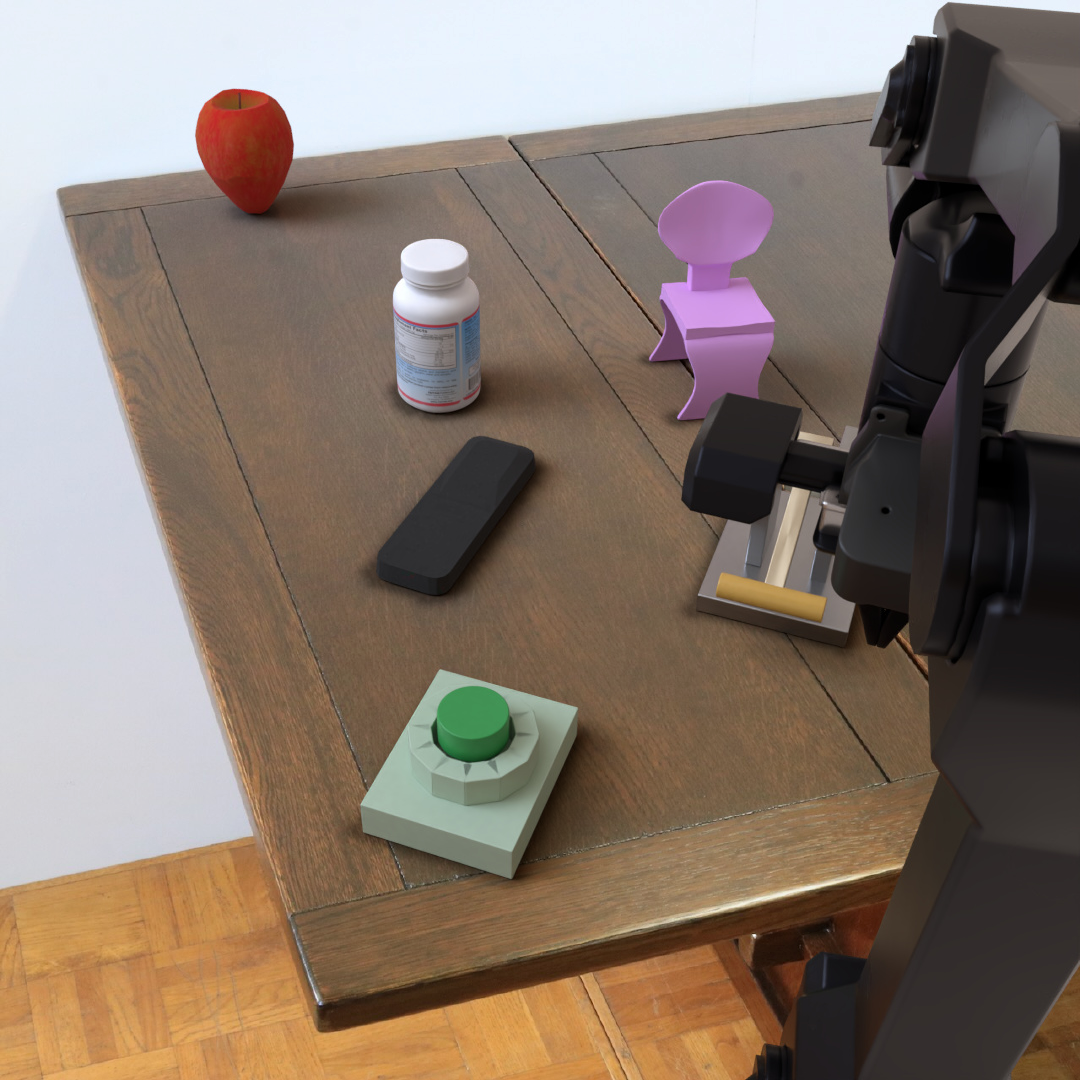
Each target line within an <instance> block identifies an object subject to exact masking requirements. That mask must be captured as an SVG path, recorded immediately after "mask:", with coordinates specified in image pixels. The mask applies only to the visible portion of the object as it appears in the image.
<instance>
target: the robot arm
mask: <svg viewBox="0 0 1080 1080" xmlns="http://www.w3.org/2000/svg"><path fill="white" fill-rule="evenodd" d="M932 27H933V28H932V34H933V35H935V36H929V35H918V34H917V35H916V34H913V36H912V37H911V39H910V42H909V44H906V47H905V51H904V55H903V57H902V59H901V60H900V61H898V62H897V63H896V64H895V65H893V66H892V67H891V68H890V69H889V70H888V73H887V75H886V78H885V81H884V83H883V86H882V89H881V92H880V94H879V97H878V100H877V102H876V106H875V108H874V110H873V113H872V118H871V119H872V120H871V126H870V135H869V142H868V147H873V148H880V155H881V156H880V157H881V165H882V166H886V167H885V185H886V187H885V188H886V203H887V204H886V205H887V206H886V207H887V222H888V223H887V225H888V241H889V244H890V250H891V253H892V257H893V259H894V264H893V269H892V275H891V278H890V282H889V286H888V292H887V297H886V301H885V306H884V311H883V315H882V319H881V324H880V327H879V333H878V337H877V341H876V346H875V350H874V356H873V360H872V363H871V364H872V365H871V368H870V374H869V378H868V383H867V388H866V391H865V396H864V402H863V406H862V410H861V415H860V420H859V423H858V427H857V428H858V433H857V436H856V438H855V439H854V440H853V442H852V444H851V447H850V449H845V448H840V447H839V446H835V445H833V446H831V445H827V444H822V443H818V442H813V441H808V440H804V439H798V437H799V433H800V431H801V427H802V423H803V416H804V411H803V408H802V407H798V406H793V405H789V404H784V403H780V402H775V401H771V400H765V399H760V398H759V399H756V398H751V397H747V396H742V395H737V394H733V393H728V392H727V393H725V394H724V395H723V396H721V397H720V398H718V399H717V400H716V401H714V402H713V403H712V404H711V406H710V408H709V411H708V413H707V415H706V417H705V418H703V422H702V423H701V426H700V428H699V430H698V432H697V434H696V435H695V438H694V441H693V443H692V445H691V447H690V449H689V452H688V456H687V460H686V463H685V468H684V473H683V482H682V488H681V497H680V500H681V502H682V503H683V505H685V506H686V508H687V509H688V510H689V511H690V512H694V513H699V514H702V515H707V516H712V517H715V518H720V519H725V520H732V521H736V522H741V523H745V524H749V525H750V524H752V523H754V522H756V521H758V520H760V519H762V518H764V517H766V516H768V515H770V514H771V511H772V509H773V505H774V500H775V494H776V488H777V486H778V484H782V485H783V486H784V485H786V486H791V487H795V488H800V489H804V490H808V491H813V492H817V493H821V496H820V498H819V499H820V501H819V505H820V506H821V507H822V508H821V512H820V515H819V518H818V521H817V524H816V527H815V531H814V534H813V544H814V546H815V548H816V549H817V550H819V551H820V552H823V553H827V554H831V555H834V556H835V558H834V563H833V568H832V573H831V585H832V587H833V589H834V591H835V592H836V593H837V595H838V596H840V597H841V598H842V599H844V600H846V601H849V602H852V603H856V605H858V607H859V612H860V617H861V622H862V627H863V631H864V636H865V642H866V644H867V645H868V646H872V647H877V648H880V649H883V650H884V649H886V648H887V647H888V646H889V645H890V644H891V642H893V641H894V639H895V638H896V637H897V636H898V635H899V634H900V632H902V630H903V629H904V628H905V627H906V626H907V625H908V635H909V644H910V645H909V646H910V647H911V650H912V652H913V655H916V656H922V657H927V676H928V677H927V681H928V683H927V684H928V713H929V718H928V719H929V746H930V748H929V749H930V750H929V751H930V760H931V763H932V764H933V766H934V768H936V770H937V771H938V773H939V774H938V777H937V779H936V781H935V783H934V787H933V789H932V791H931V794H930V797H929V799H928V802H927V805H926V807H925V809H924V812H923V814H922V817H921V820H920V823H919V825H918V828H917V830H916V833H915V835H914V838H913V840H912V843H911V845H910V848H909V851H908V853H907V856H906V858H905V861H904V863H903V866H902V869H901V871H900V874H899V876H898V879H897V881H896V884H895V886H894V889H893V891H892V894H891V897H890V900H889V902H888V904H887V907H886V910H885V913H884V915H883V916H882V919H881V923H880V925H879V927H878V930H877V933H876V935H875V938H874V940H873V942H872V945H871V948H870V951H869V953H868V956H867V958H866V957H859V956H854V955H847V954H841V953H835V952H829V951H823V950H821V951H819V952H818V953H817V954H816V955H814V956H812V957H811V958H810V959H809V960H807V962H806V963H805V965H804V969H803V973H802V976H801V977H802V978H801V982H800V985H799V989H798V991H797V994H796V996H794V997H793V998H792V1006H791V1010H790V1012H789V1014H788V1016H787V1018H786V1019H785V1022H784V1025H783V1028H782V1032H781V1036H780V1040H779V1045H778V1044H772V1043H768V1042H767V1043H766V1042H765V1043H763V1045H762V1047H761V1051H760V1054H755V1056H754V1061H753V1067H752V1068H753V1069H752V1073H751V1074H750V1075H749V1076H748V1077H746V1078H745V1079H744V1080H1013V1079H1012V1072H1013V1070H1014V1069H1015V1067H1016V1066H1017V1064H1018V1063H1019V1061H1020V1059H1021V1058H1022V1056H1023V1055H1024V1053H1025V1052H1026V1050H1027V1048H1028V1047H1029V1046H1030V1044H1031V1042H1032V1041H1033V1040H1034V1037H1035V1036H1036V1034H1037V1033H1038V1031H1039V1030H1040V1028H1041V1027H1042V1025H1043V1024H1044V1022H1045V1020H1047V1017H1048V1016H1049V1014H1050V1013H1051V1011H1052V1009H1053V1008H1054V1006H1055V1005H1056V1003H1057V1002H1058V1001H1059V999H1060V997H1061V995H1062V994H1063V992H1064V991H1065V989H1066V988H1067V986H1068V984H1069V983H1070V982H1071V980H1072V978H1073V976H1075V974H1076V972H1077V970H1078V969H1079V967H1080V436H1072V435H1063V434H1055V433H1046V432H1038V431H1030V430H1021V429H1013V430H1011V429H1012V425H1013V423H1014V419H1015V416H1016V413H1017V411H1018V406H1019V403H1020V400H1021V396H1022V393H1023V390H1024V387H1025V383H1026V380H1027V378H1028V377H1027V376H1028V373H1029V370H1030V367H1031V364H1032V361H1033V357H1034V353H1035V350H1036V347H1037V344H1038V340H1039V337H1040V334H1041V331H1042V328H1043V325H1044V321H1045V318H1046V315H1047V312H1048V308H1049V305H1050V302H1053V303H1056V304H1065V305H1075V306H1080V12H1074V11H1061V10H1051V9H1050V10H1049V9H1037V8H1028V7H1027V8H1025V7H1014V6H1000V5H989V4H979V3H978V4H977V3H963V2H955V1H954V2H953V1H947V2H946V3H945V4H943V5H942V6H941V7H940V8H939V9H938V10H937V12H936V14H935V16H934V19H933V25H932ZM797 439H798V440H797Z"/></svg>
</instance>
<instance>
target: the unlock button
mask: <svg viewBox="0 0 1080 1080" xmlns="http://www.w3.org/2000/svg"><path fill="white" fill-rule="evenodd" d="M437 733H438V741H439V744H440V746H441V747H442V749H443V750H444V751H445V752H446V753H447V754H448V755H450V756H452V757H453V758H455V759H458V760H461V761H467V762H479V761H484V760H488V759H490V758H492V757H494V756H496V755H497V754H499V753H500V752H501V751H502V750H503V749H504V748H505V746H506V744H507V742H508V739H509V707H508V704H507V702H506V701H505V699H504V698H503V697H502V696H501V695H500V694H499V693H497V692H496V691H494V690H492V689H489V688H486V687H481V686H466V687H461V688H458V689H455V690H453V691H451V692H450V693H448V694H447V695H446V696H445V697H444V698H443V699H442V700H441V702H440V703H439V706H438V709H437Z"/></svg>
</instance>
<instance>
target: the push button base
mask: <svg viewBox="0 0 1080 1080" xmlns="http://www.w3.org/2000/svg"><path fill="white" fill-rule="evenodd" d="M466 686H481V687H486V688H489V689H492V690H494V691H496V692H497V693H499V694H500V695H501V696H502V697H503V698H504V699H505V701H506V702H507V704H508V707H509V739H508V742H507V744H506V746H505V748H504V749H503V750H502V751H501V752H500V753H499V754H497V755H496V756H494V757H492V758H490V759H488V760H484V761H479V762H467V761H461V760H458V759H455V758H453V757H452V756H450V755H448V754H447V753H446V752H445V751H444V750H443V749H442V747H441V746H440V744H439V741H438V733H437V709H438V706H439V703H440V702H441V700H442V699H443V698H444V697H445V696H446V695H447V694H448V693H450V692H451V691H453V690H455V689H458V688H461V687H466ZM578 720H579V707H577V706H574V705H570V704H567V703H563V702H559V701H556V700H553V699H549V698H545V697H541V696H538V695H534V694H530V693H527V692H523V691H519V690H516V689H512V688H508V687H505V686H503V685H498V684H494V683H490V682H488V681H484V680H482V679H481V680H480V679H477V678H473V677H470V676H466V675H463V674H460V673H455V672H452V671H448V670H445V669H440V668H439V670H438V671H437V673H436V674H435V676H434V678H433V680H432V682H431V684H430V685H429V687H428V688H427V690H426V692H425V694H424V695H423V696H422V699H421V701H420V702H419V704H418V706H417V707H416V709H415V711H414V712H413V714H412V716H411V718H410V719H409V721H408V722H407V724H406V726H405V727H404V729H403V731H402V733H401V735H400V736H399V738H398V740H397V741H396V742H395V744H394V746H393V748H392V749H391V752H390V753H389V755H388V756H387V758H386V760H385V761H384V763H383V765H382V766H381V769H380V770H379V771H378V773H377V775H376V777H375V778H374V781H373V782H372V784H371V785H370V787H369V789H368V790H367V792H366V794H365V796H364V797H363V799H362V801H361V802H360V815H361V816H360V817H361V825H362V832H363V834H367V835H370V836H373V837H377V838H380V839H383V840H385V841H390V842H393V843H396V844H399V845H402V846H405V847H408V848H412V849H415V850H417V851H420V852H424V853H427V854H431V855H434V856H437V857H439V858H443V859H446V860H450V861H452V862H456V863H459V864H462V865H465V866H469V867H472V868H473V869H474V868H475V869H477V870H481V871H484V872H487V873H491V874H494V875H497V876H500V877H504V878H506V879H510V880H513V878H514V876H515V873H516V871H517V869H518V867H519V865H520V863H521V860H522V859H523V855H524V853H525V852H526V849H527V847H528V845H529V843H530V840H531V838H532V836H533V834H534V831H535V829H536V827H537V825H538V823H539V821H540V819H541V816H542V813H543V811H544V809H545V807H546V804H547V803H548V800H549V799H550V795H551V793H552V791H553V790H554V787H555V785H556V782H557V780H558V778H559V775H560V773H561V771H562V769H563V767H564V764H565V762H566V760H567V758H568V756H569V754H570V751H571V749H572V747H573V744H574V742H575V740H576V738H577V736H578Z"/></svg>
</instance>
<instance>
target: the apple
mask: <svg viewBox="0 0 1080 1080" xmlns="http://www.w3.org/2000/svg"><path fill="white" fill-rule="evenodd" d="M195 125H196V126H195V131H194V138H195V144H196V150H197V153H198V156H199V158H200V161H201V163H202V166H203V168H204V170H205V171H206V173H207V174H208V176H209V178H210V179H211V180H212V182H213V183H214V184H215V185H216V187H217V188H218V189H219V190H220V191H221V192H222V193H223V194H224V195H225V196H226V197H227V198H228V199H229V200H230V202H232V203H233V204H234V205H235V206H236V207H237V208H238V209H240V210H241V211H243V212H245V213H247V214H258V215H261V214H263V213H265V212H267V211H268V210H269V209H270V208H271V206H272V205H273V204H274V202H275V201H276V199H277V198H278V195H279V193H280V191H282V188H283V186H284V184H285V182H286V180H287V177H288V174H289V171H290V168H291V165H292V163H293V160H294V149H295V143H294V142H295V141H294V137H293V129H292V125H291V123H290V121H289V118H288V116H287V113H286V111H285V110H284V108H283V107H282V106H281V104H280V103H279V102H278V100H277V99H276V98H274V97H273V96H272V95H269V94H268V93H265V92H263V91H260V90H255V89H249V88H228V89H223V90H221V91H219V92H218V93H216V94H215V95H214V96H212V97H210V98H209V99H208V100H207V101H205V102H204V104H203V105H202V108H201V109H200V111H199V113H198V117H197V120H196V124H195Z"/></svg>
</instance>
